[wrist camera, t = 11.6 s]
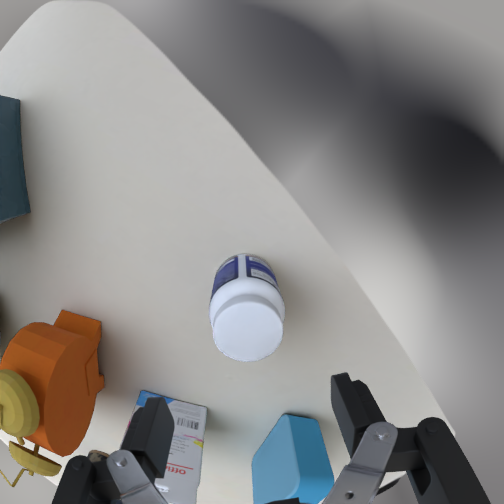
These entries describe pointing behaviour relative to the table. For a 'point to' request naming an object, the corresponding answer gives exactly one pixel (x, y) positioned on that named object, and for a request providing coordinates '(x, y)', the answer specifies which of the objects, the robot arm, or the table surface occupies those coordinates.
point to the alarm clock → (49, 389)
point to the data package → (292, 463)
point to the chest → (11, 162)
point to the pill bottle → (246, 309)
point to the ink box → (181, 450)
